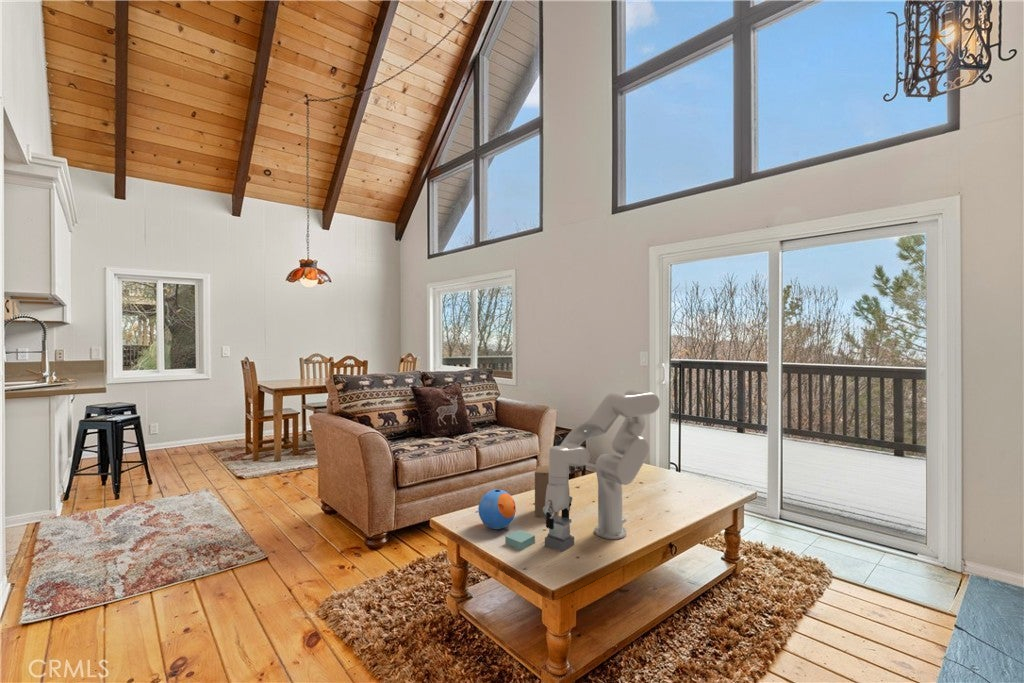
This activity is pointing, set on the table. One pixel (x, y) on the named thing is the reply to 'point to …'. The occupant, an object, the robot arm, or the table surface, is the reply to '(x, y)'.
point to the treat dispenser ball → (497, 509)
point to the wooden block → (541, 490)
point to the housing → (560, 529)
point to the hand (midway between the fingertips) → (557, 524)
